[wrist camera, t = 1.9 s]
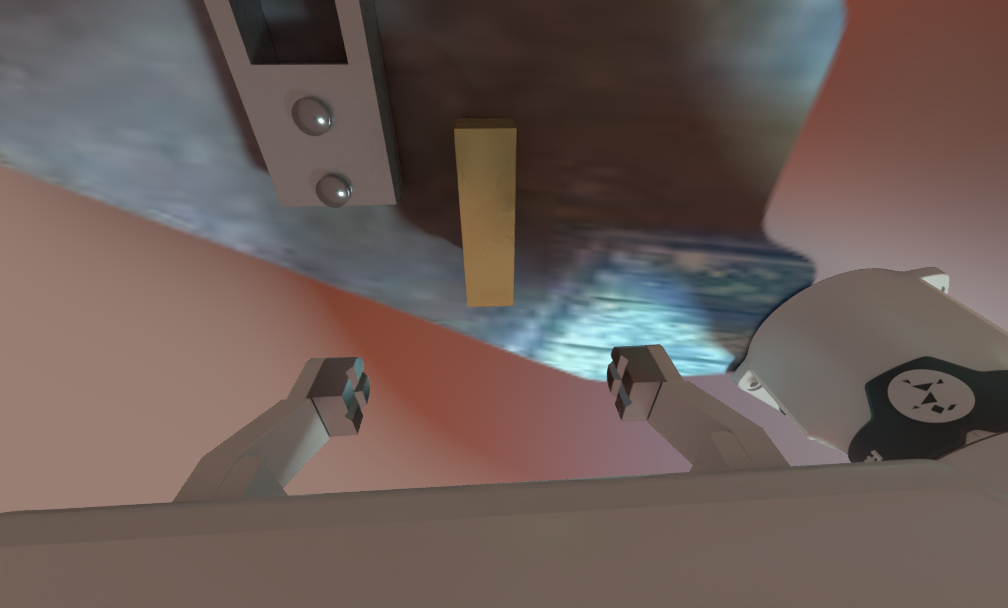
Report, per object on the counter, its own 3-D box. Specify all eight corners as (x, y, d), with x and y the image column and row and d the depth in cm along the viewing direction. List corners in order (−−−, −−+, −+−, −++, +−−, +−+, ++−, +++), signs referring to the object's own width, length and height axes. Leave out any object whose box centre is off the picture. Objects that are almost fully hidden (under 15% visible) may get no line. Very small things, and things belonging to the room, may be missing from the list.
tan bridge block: (460, 109, 22) (453, 128, 17) (508, 108, 22) (516, 128, 17) (470, 259, 28) (467, 307, 23) (507, 258, 29) (513, 305, 23)
